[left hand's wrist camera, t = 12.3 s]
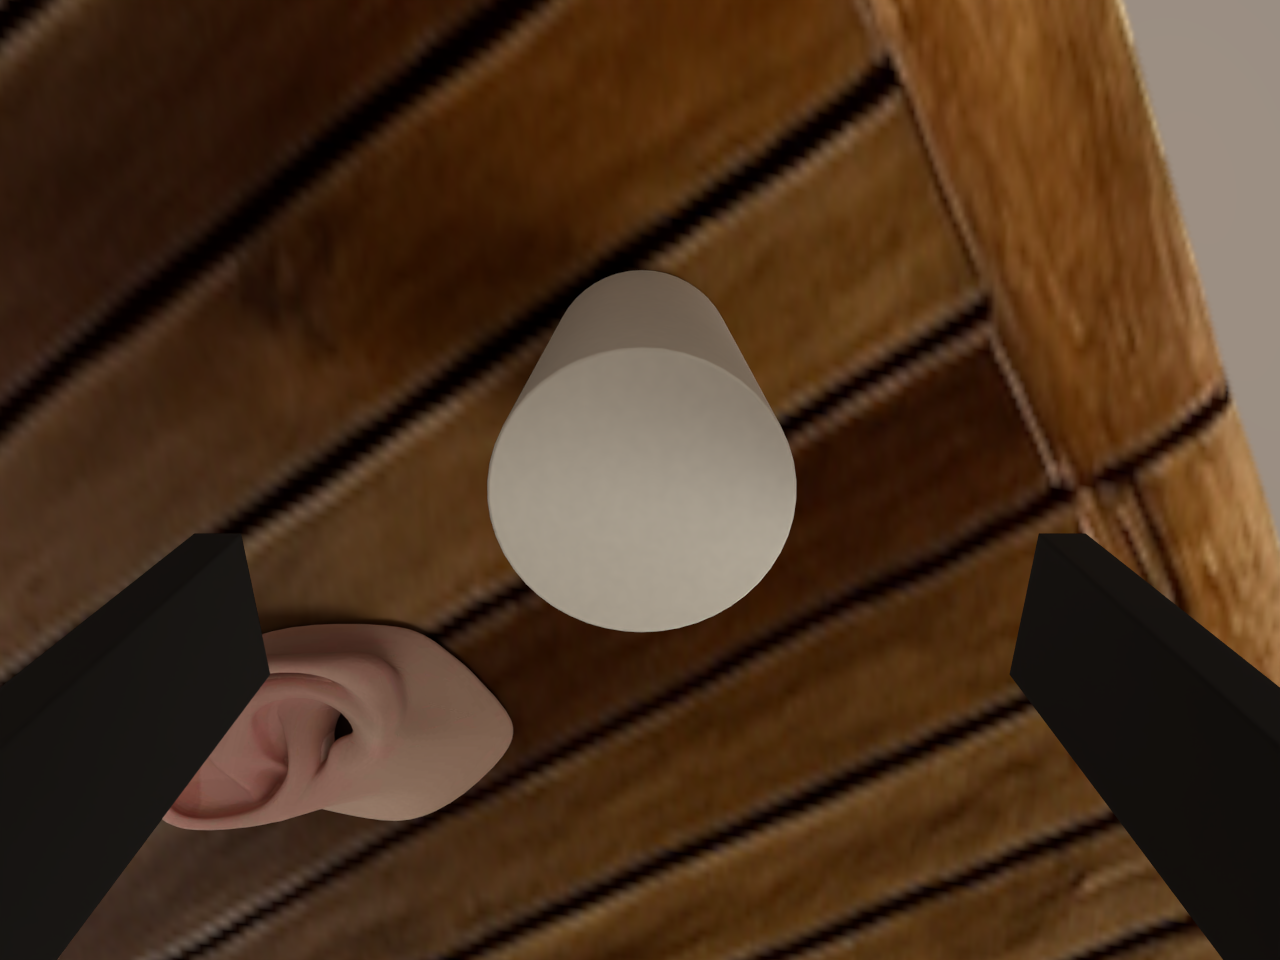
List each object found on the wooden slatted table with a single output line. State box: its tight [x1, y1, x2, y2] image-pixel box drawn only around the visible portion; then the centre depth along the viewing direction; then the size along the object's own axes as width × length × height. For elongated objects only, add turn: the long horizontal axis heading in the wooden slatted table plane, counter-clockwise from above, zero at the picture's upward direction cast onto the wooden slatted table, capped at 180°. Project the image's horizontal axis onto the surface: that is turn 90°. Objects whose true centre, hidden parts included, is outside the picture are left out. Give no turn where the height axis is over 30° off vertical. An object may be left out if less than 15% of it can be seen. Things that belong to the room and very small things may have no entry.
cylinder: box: [487, 270, 796, 632], centre depth 22 cm, size 7×7×13 cm
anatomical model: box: [162, 624, 513, 830], centre depth 32 cm, size 13×4×12 cm
